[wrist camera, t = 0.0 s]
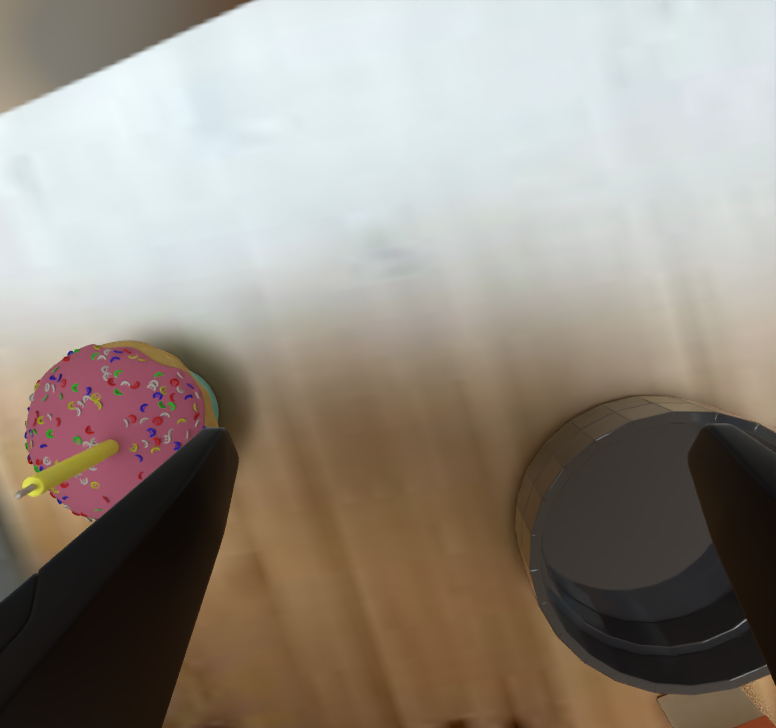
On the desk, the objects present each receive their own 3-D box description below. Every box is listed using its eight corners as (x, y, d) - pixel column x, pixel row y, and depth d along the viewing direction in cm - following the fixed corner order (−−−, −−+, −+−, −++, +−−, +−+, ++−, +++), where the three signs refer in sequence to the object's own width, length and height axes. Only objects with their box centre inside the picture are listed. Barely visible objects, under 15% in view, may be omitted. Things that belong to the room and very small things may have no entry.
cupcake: (236, 324, 24) (50, 339, 12) (265, 476, 25) (118, 624, 13) (90, 348, 25) (-212, 383, 13) (123, 493, 26) (-133, 647, 14)
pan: (821, 567, 23) (902, 621, 19) (586, 669, 25) (615, 737, 21) (702, 346, 22) (761, 354, 18) (469, 468, 24) (476, 500, 20)
